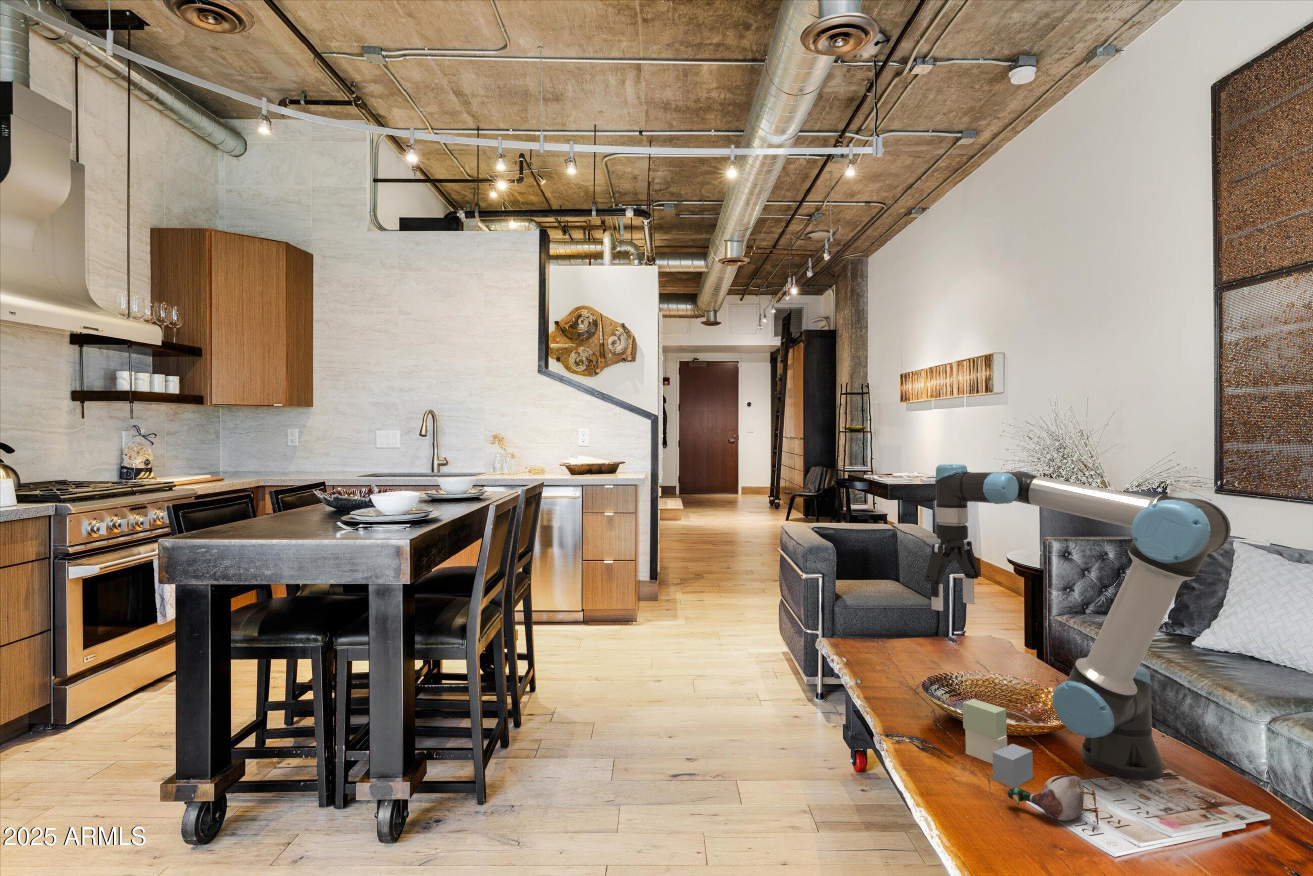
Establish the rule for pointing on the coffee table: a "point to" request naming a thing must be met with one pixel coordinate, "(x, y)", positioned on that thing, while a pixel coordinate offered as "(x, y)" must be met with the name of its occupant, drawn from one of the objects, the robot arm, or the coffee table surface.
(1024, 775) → the slate block
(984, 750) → the cream block
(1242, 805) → the coffee table surface
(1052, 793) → the decorative duck model
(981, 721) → the sage block
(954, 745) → the coffee table surface
